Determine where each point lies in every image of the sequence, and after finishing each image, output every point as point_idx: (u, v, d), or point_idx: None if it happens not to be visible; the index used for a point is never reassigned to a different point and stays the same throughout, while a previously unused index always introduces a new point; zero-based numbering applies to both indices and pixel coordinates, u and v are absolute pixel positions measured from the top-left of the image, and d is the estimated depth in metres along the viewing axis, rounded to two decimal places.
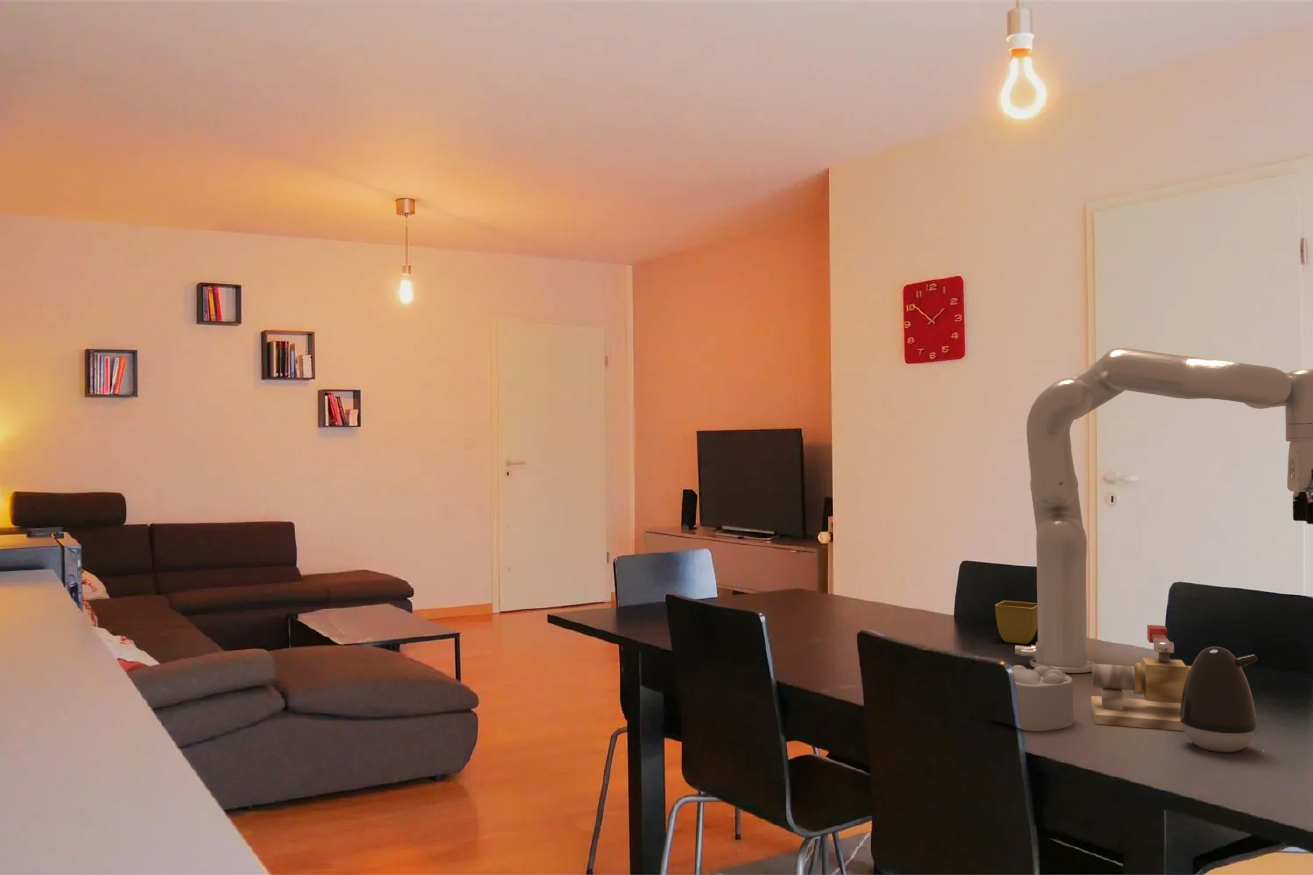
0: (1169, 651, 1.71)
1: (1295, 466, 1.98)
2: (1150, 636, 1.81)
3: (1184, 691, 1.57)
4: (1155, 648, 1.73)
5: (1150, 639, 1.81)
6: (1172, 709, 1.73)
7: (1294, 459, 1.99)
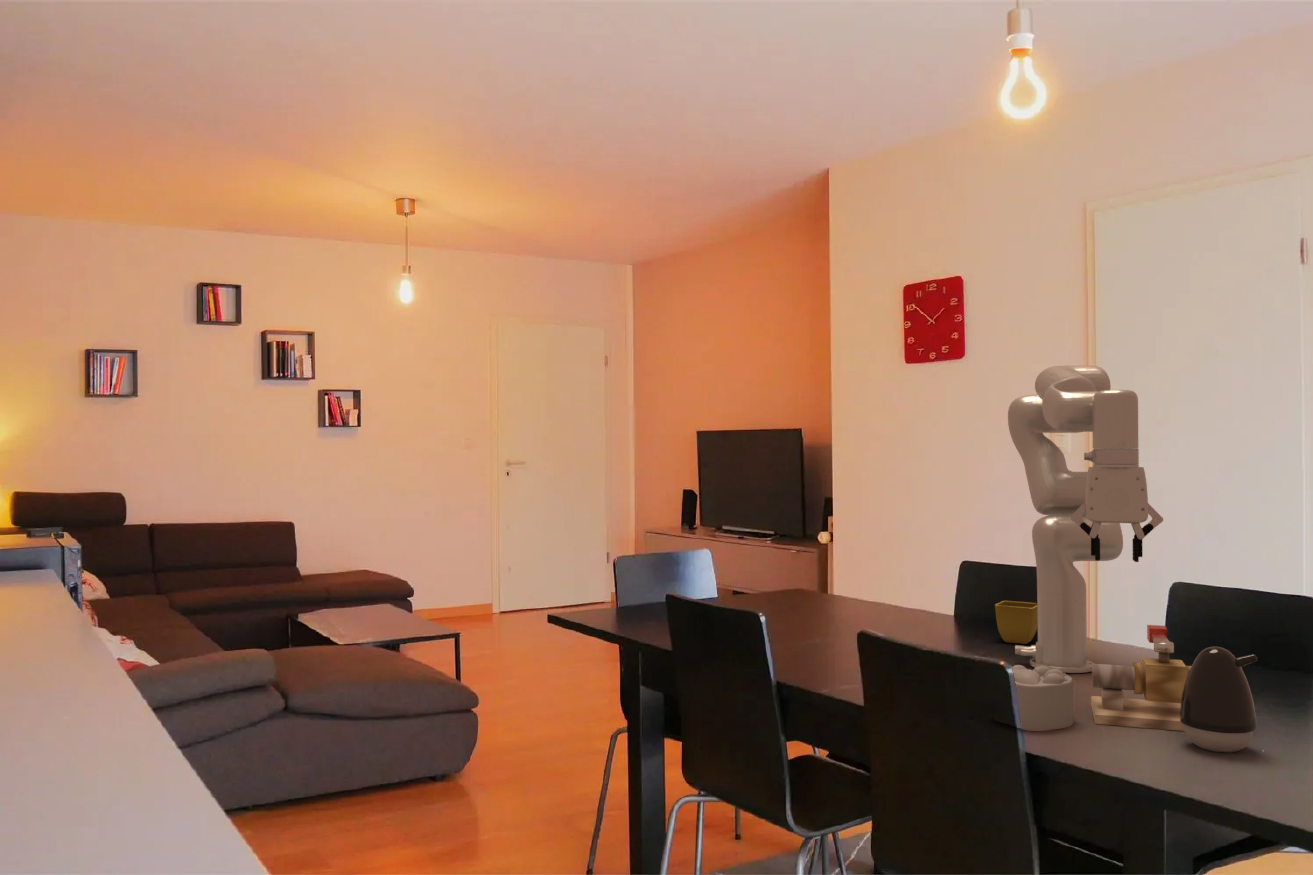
0: (1169, 651, 1.71)
1: (1131, 495, 1.81)
2: (1150, 636, 1.81)
3: (1184, 691, 1.57)
4: (1155, 648, 1.73)
5: (1150, 639, 1.81)
6: (1172, 709, 1.73)
7: (1127, 487, 1.81)
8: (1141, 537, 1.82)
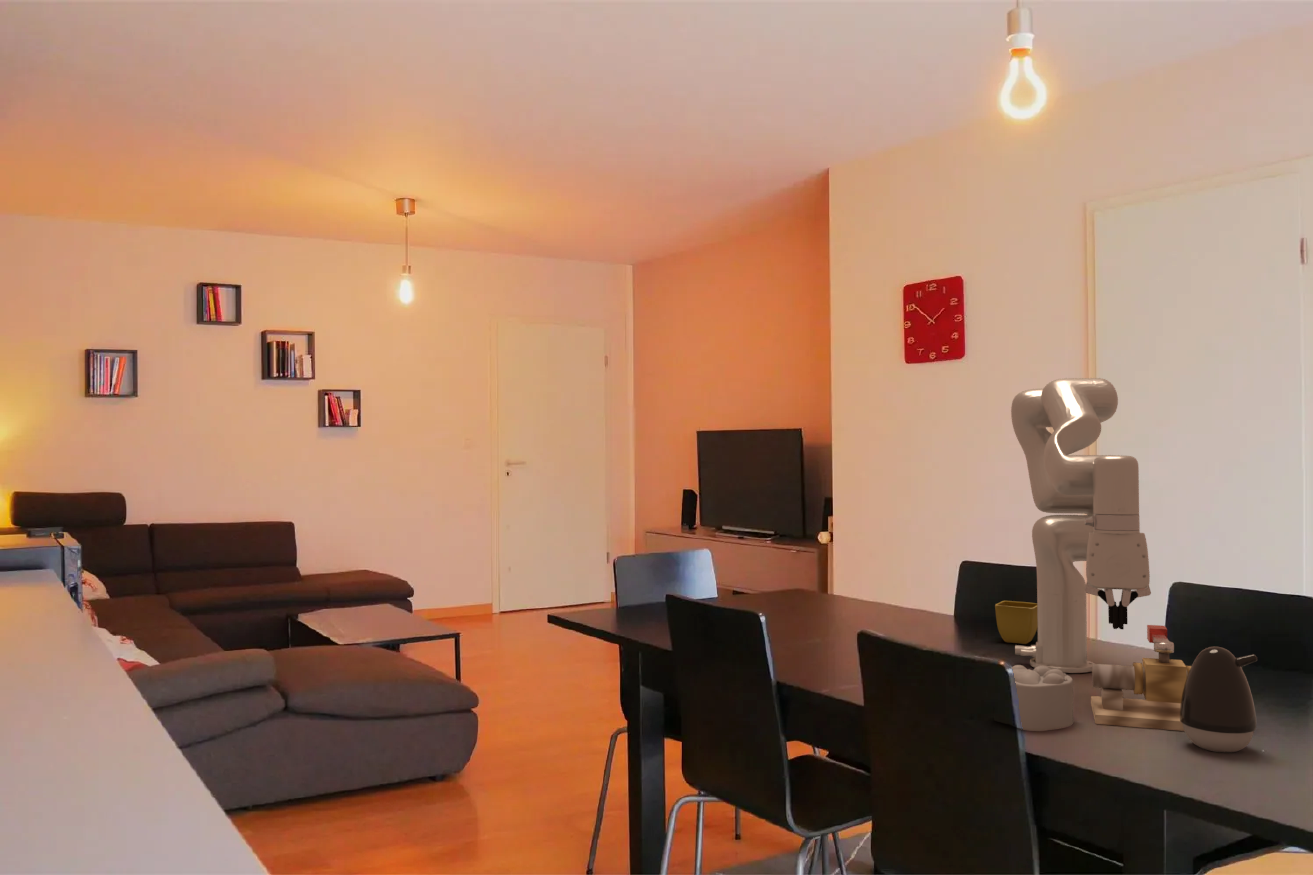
0: (1169, 651, 1.71)
1: (1132, 561, 1.81)
2: (1150, 636, 1.81)
3: (1184, 691, 1.57)
4: (1155, 648, 1.73)
5: (1150, 639, 1.81)
6: (1172, 709, 1.73)
7: (1128, 553, 1.81)
8: (1126, 604, 1.82)
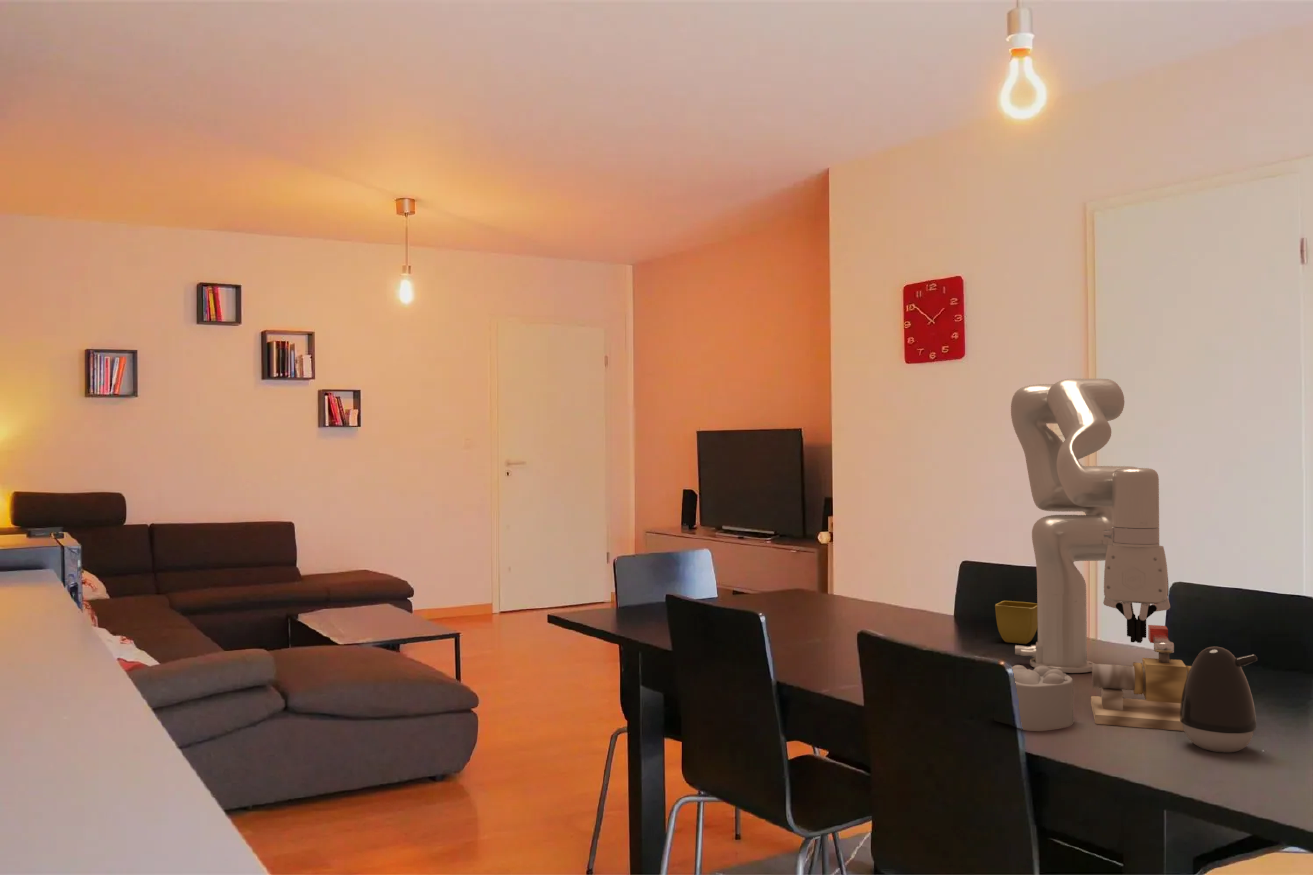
0: (1169, 651, 1.71)
1: (1148, 575, 1.79)
2: (1151, 636, 1.81)
3: (1184, 691, 1.57)
4: (1155, 648, 1.73)
5: (1151, 639, 1.81)
6: (1172, 709, 1.73)
7: (1144, 567, 1.80)
8: (1143, 618, 1.81)
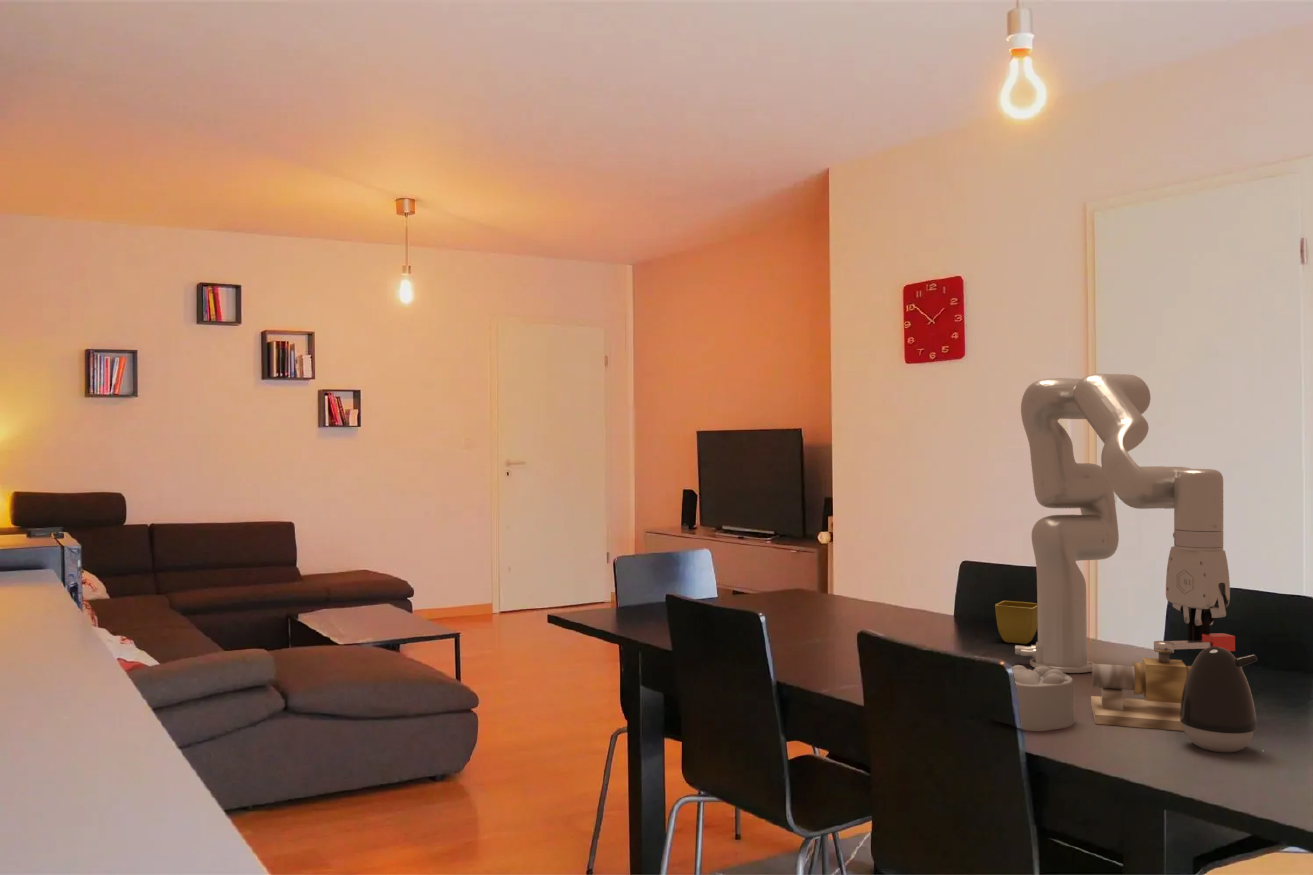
0: (1159, 650, 1.72)
1: (1195, 579, 1.75)
2: None
3: (1184, 691, 1.57)
4: None
5: None
6: (1172, 709, 1.73)
7: (1192, 571, 1.75)
8: (1198, 623, 1.76)
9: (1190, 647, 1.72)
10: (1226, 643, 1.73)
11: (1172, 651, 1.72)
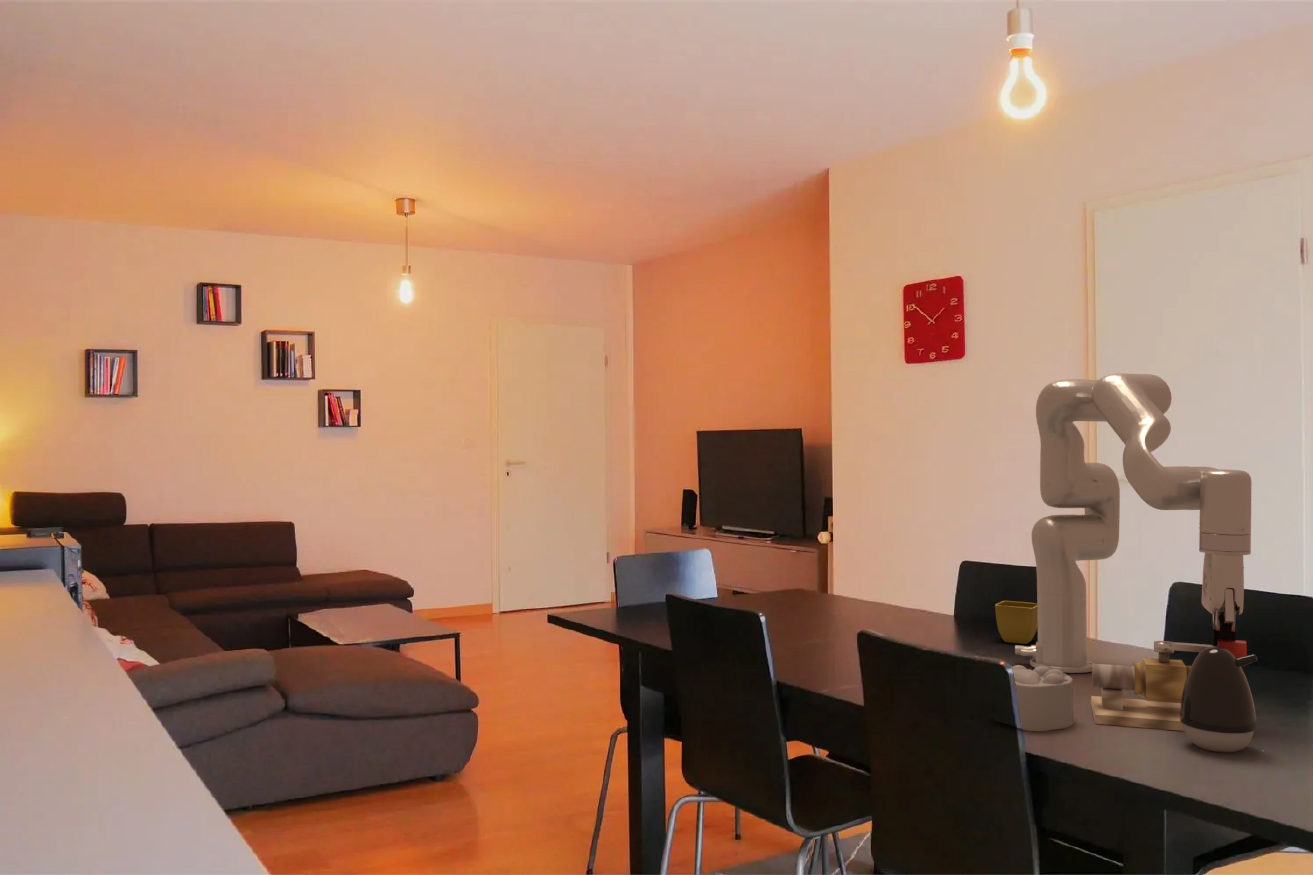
0: (1154, 649, 1.73)
1: (1207, 582, 1.71)
2: None
3: (1184, 691, 1.57)
4: None
5: None
6: (1172, 709, 1.73)
7: (1207, 574, 1.71)
8: None
9: (1191, 650, 1.70)
10: (1235, 650, 1.67)
11: (1168, 651, 1.71)
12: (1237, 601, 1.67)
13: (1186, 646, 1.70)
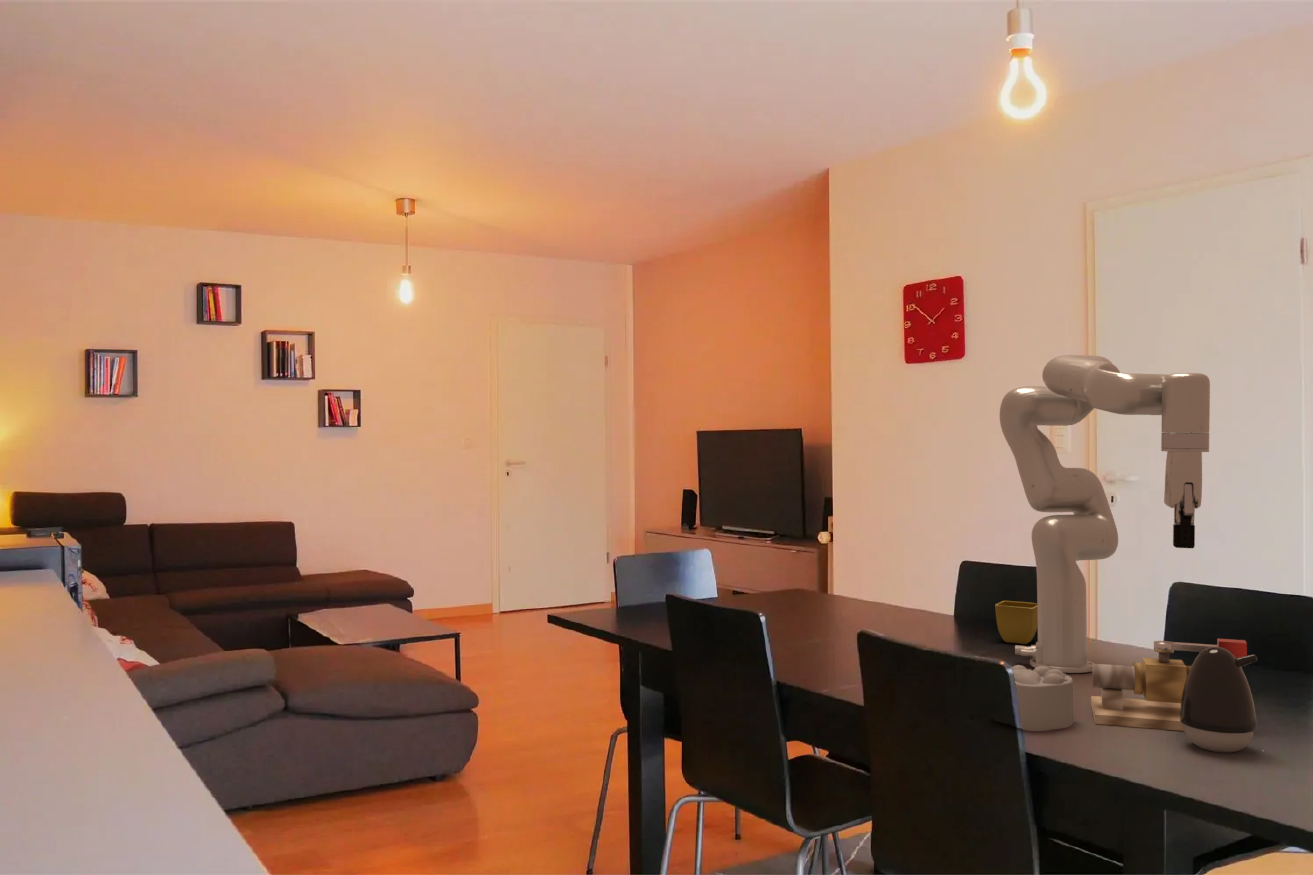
0: (1155, 649, 1.73)
1: (1168, 479, 1.81)
2: None
3: (1184, 691, 1.57)
4: None
5: None
6: (1172, 709, 1.73)
7: (1168, 471, 1.81)
8: (1177, 523, 1.81)
9: (1192, 650, 1.70)
10: (1235, 649, 1.67)
11: (1168, 651, 1.71)
12: (1195, 494, 1.77)
13: (1186, 646, 1.70)
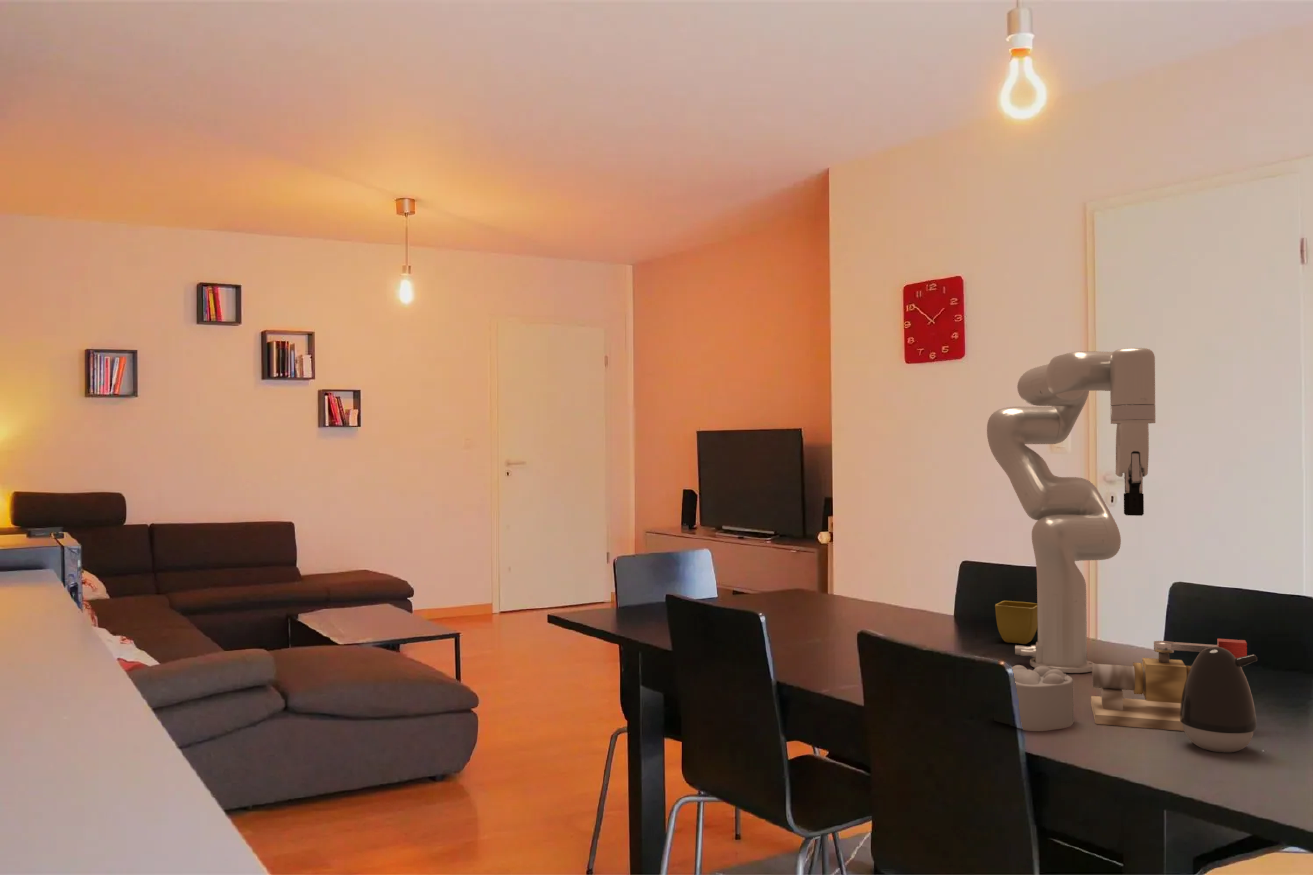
0: (1155, 649, 1.73)
1: (1117, 449, 1.89)
2: None
3: (1184, 691, 1.57)
4: None
5: None
6: (1172, 709, 1.73)
7: (1117, 442, 1.90)
8: None
9: (1192, 650, 1.70)
10: (1235, 649, 1.67)
11: (1168, 651, 1.71)
12: (1142, 463, 1.85)
13: (1186, 646, 1.70)
